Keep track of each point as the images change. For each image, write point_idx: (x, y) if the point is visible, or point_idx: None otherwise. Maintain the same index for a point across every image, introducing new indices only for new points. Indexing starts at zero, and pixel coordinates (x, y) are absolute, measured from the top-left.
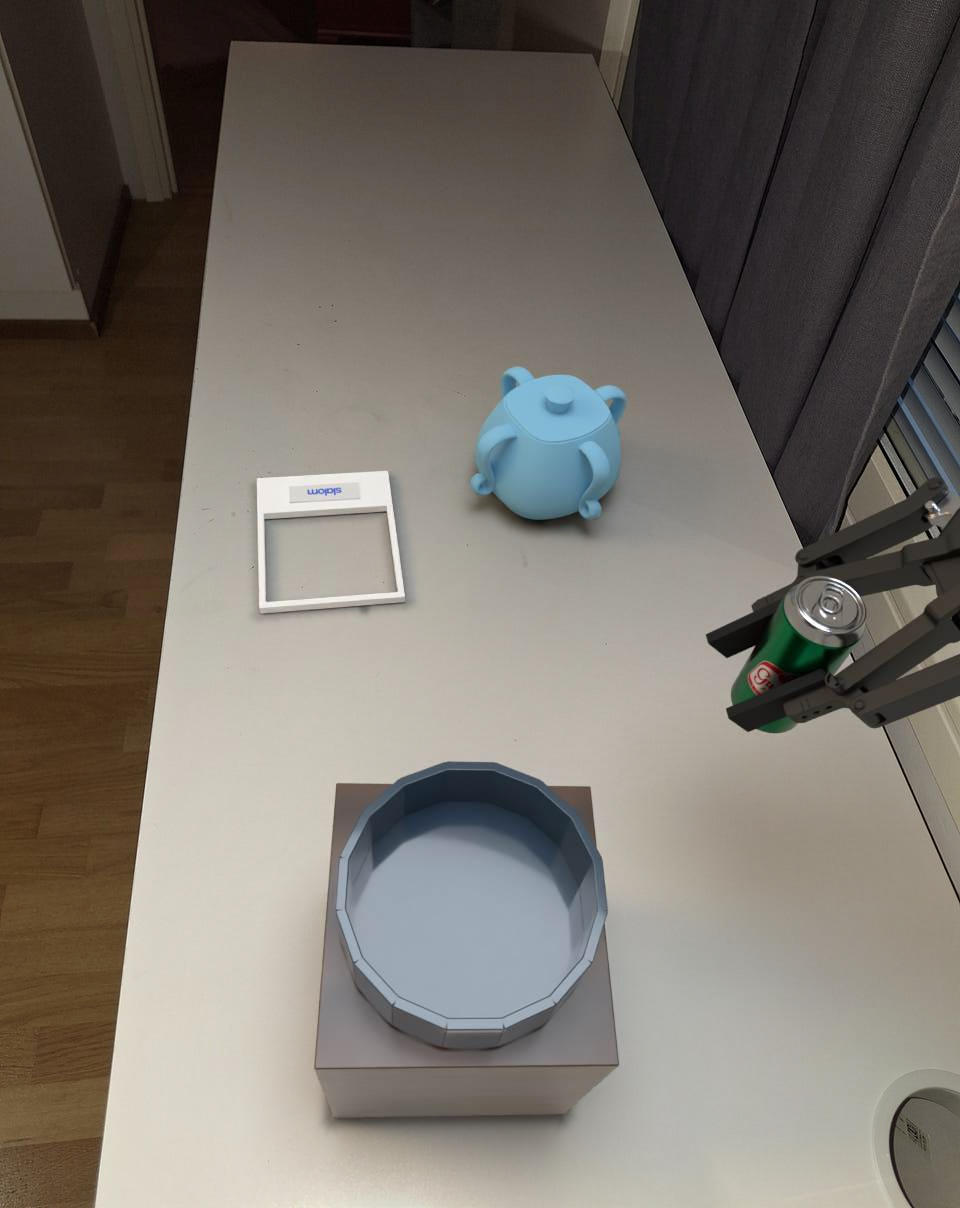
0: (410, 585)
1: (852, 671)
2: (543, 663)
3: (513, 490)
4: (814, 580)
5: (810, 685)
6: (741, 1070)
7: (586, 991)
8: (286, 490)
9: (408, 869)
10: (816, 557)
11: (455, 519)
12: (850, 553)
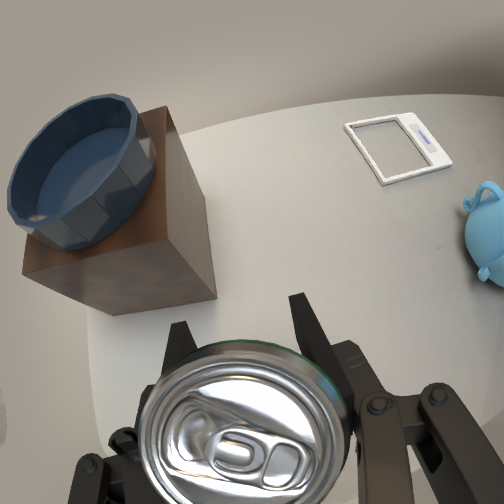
0: (394, 187)
1: (141, 476)
2: (373, 272)
3: (473, 218)
4: (324, 415)
5: None
6: (138, 405)
7: (47, 253)
8: (414, 123)
9: (111, 145)
10: (434, 420)
11: (446, 203)
12: (446, 481)
